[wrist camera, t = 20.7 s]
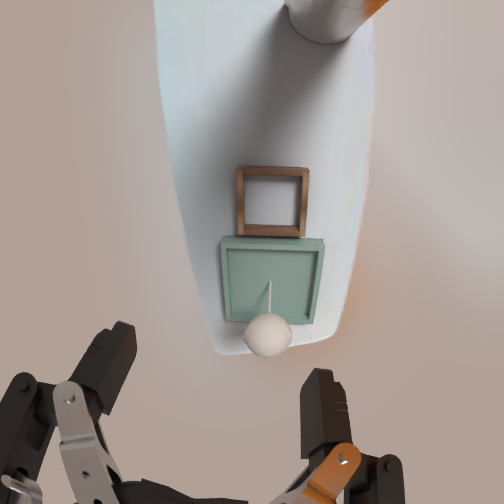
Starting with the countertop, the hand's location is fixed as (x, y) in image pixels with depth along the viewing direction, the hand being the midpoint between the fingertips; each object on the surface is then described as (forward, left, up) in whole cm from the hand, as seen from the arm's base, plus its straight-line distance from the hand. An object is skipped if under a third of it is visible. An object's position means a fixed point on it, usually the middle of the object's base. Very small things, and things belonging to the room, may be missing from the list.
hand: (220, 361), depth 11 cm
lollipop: (+14, -8, -30) cm, 34 cm away
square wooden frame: (+3, 0, -30) cm, 30 cm away
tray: (+14, -8, -30) cm, 34 cm away
